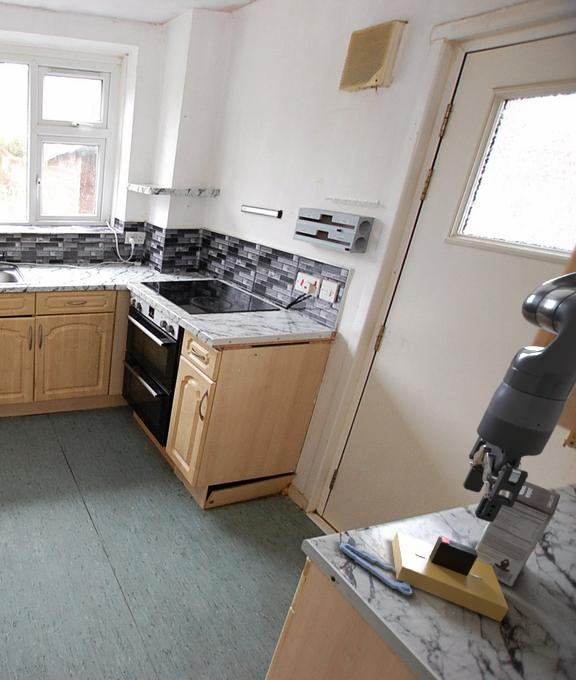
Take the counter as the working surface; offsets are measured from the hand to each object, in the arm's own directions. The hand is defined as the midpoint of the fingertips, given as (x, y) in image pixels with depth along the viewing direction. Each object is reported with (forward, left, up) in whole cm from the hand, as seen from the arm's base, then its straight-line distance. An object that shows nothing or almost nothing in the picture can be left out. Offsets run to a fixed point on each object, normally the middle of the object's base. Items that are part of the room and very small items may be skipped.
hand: (476, 503), depth 74 cm
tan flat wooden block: (0, 0, -16) cm, 16 cm away
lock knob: (0, 0, -13) cm, 13 cm away
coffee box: (-10, -11, -17) cm, 22 cm away
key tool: (+10, +4, -17) cm, 20 cm away
